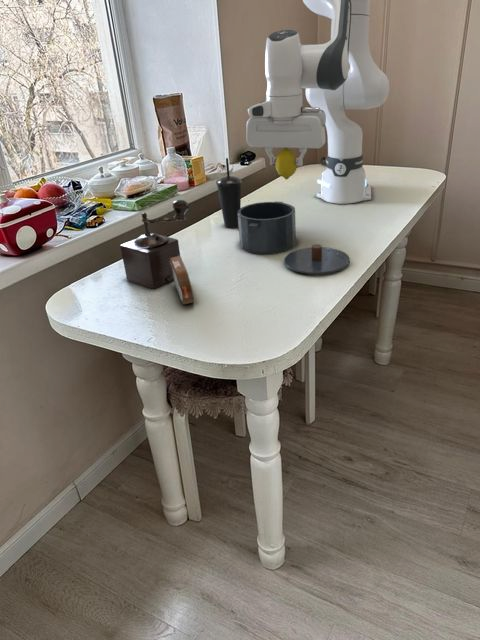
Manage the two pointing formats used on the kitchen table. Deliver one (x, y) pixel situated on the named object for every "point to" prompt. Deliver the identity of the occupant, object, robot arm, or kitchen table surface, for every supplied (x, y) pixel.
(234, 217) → the drinking cup
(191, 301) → the tin
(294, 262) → the lid
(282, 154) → the lemon
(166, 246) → the manual coffee grinder
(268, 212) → the pot
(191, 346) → the kitchen table surface
